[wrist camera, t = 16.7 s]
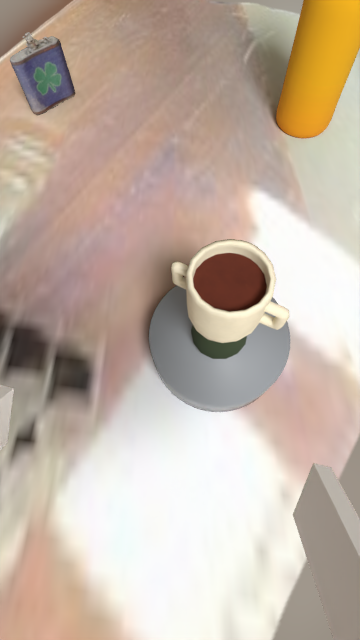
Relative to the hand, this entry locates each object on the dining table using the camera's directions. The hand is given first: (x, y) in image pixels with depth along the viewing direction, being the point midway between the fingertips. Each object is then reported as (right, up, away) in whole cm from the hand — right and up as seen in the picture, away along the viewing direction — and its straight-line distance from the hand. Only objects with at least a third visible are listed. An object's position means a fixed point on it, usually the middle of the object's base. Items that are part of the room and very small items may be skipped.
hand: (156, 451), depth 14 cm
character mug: (+5, +4, +24) cm, 25 cm away
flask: (-23, +47, +49) cm, 71 cm away
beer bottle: (+22, +40, +45) cm, 64 cm away
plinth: (+6, +2, +28) cm, 29 cm away
